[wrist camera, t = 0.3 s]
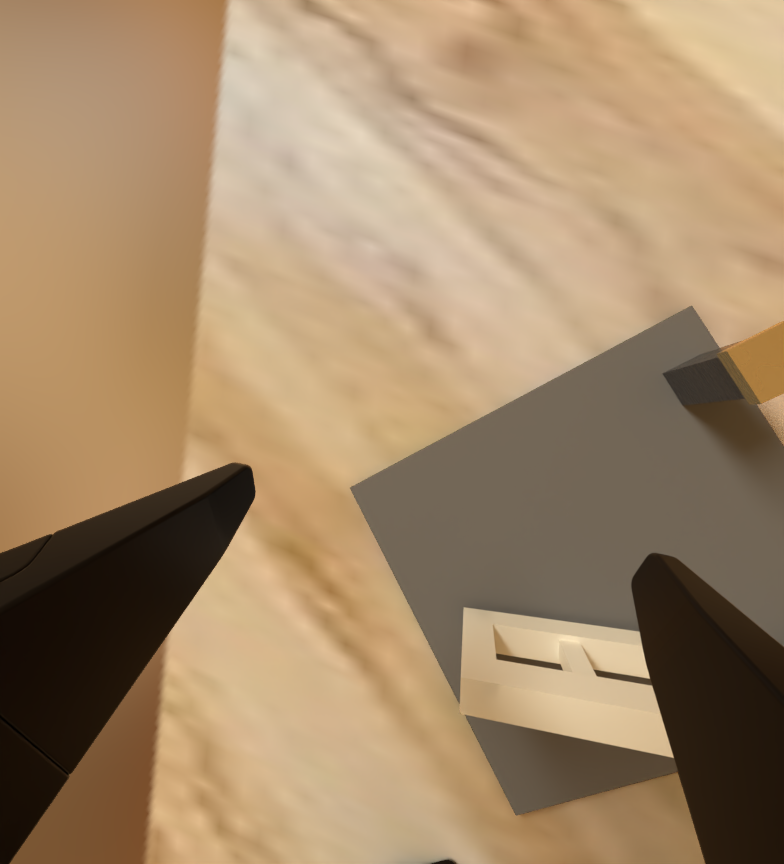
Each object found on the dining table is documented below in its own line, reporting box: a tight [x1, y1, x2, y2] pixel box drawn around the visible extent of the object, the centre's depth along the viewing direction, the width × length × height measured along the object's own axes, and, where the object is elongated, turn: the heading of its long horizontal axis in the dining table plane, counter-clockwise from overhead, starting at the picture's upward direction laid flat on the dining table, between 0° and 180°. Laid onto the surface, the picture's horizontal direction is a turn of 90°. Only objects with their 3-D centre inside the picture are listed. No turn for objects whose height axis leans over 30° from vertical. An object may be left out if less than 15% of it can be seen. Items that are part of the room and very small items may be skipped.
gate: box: [460, 607, 674, 758], centre depth 16 cm, size 16×2×6 cm, turn 89°
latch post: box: [662, 321, 784, 406], centre depth 16 cm, size 2×2×6 cm
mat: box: [350, 306, 784, 815], centre depth 20 cm, size 22×22×1 cm
